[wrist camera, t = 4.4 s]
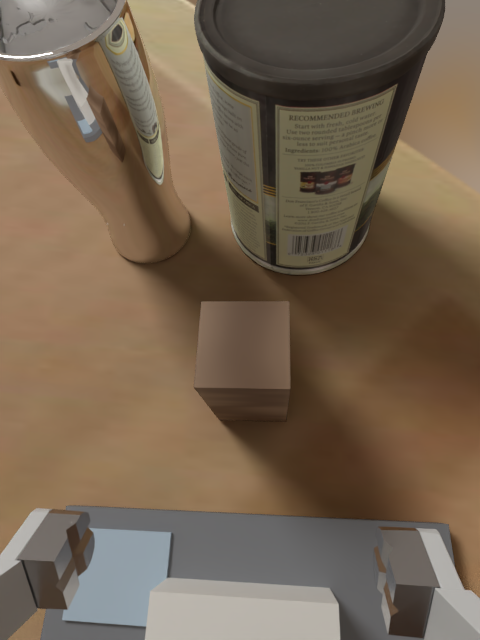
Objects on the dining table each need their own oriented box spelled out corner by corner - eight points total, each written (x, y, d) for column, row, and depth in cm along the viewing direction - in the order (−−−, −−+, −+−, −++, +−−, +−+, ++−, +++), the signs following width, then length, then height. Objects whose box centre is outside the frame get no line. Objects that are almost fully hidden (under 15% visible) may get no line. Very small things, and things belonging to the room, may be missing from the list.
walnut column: (219, 419, 24) (193, 387, 16) (223, 356, 25) (201, 301, 18) (286, 421, 23) (290, 389, 16) (285, 357, 25) (289, 301, 18)
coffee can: (311, 144, 32) (336, -91, 19) (399, 228, 28) (505, 4, 15) (203, 205, 30) (151, -7, 17) (281, 303, 26) (287, 123, 14)
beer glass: (114, 195, 31) (-11, -33, 18) (200, 191, 31) (139, -48, 17) (100, 270, 29) (-61, 68, 15) (194, 268, 28) (116, 55, 14)
